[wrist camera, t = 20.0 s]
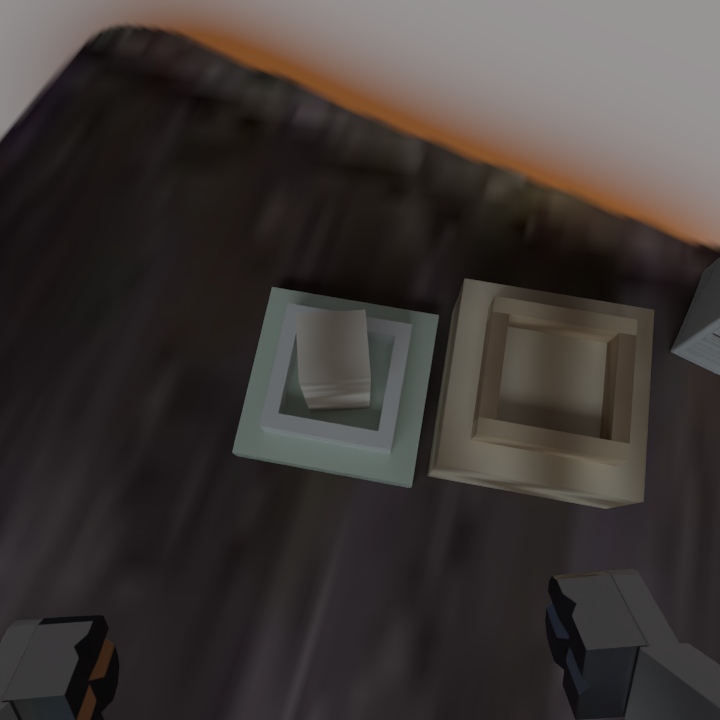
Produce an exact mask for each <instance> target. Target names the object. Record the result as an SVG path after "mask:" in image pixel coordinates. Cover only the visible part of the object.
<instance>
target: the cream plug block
mask: <svg viewBox="0 0 720 720" xmlns="http://www.w3.org/2000/svg"><path fill="white" fill-rule="evenodd" d="M295 317H296V337H297V356H298V375H299V384H300V387H301V389H302V392H303V395H304V397H305V400H306V403H307V405H308V408H309V411H310V413H312V412H325V411H338V410H351V409H364V408H370V387H371V371H370V360H369V348H368V336H367V324H366V312H365V309H364V310H351V311H337V312H324V313H310V314H297V315H295Z"/></svg>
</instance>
